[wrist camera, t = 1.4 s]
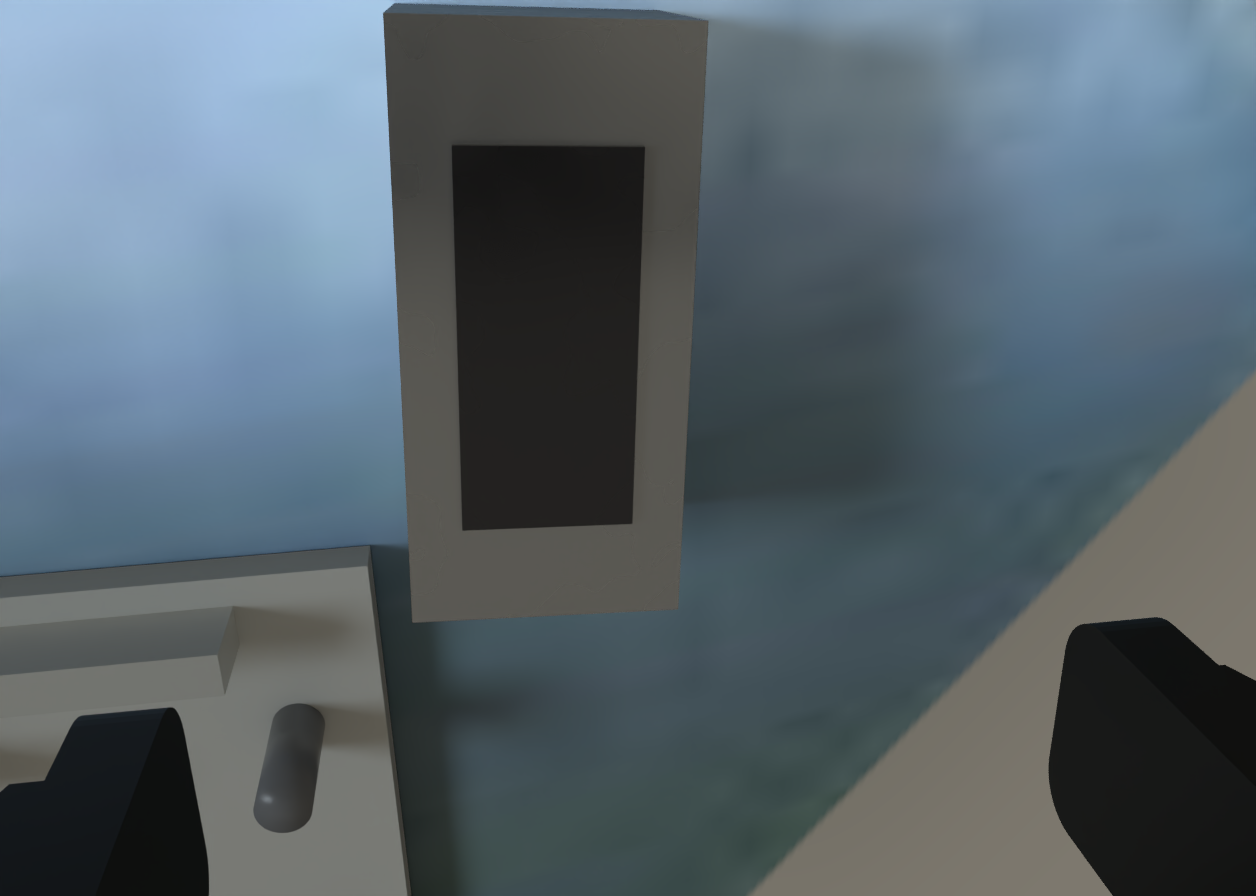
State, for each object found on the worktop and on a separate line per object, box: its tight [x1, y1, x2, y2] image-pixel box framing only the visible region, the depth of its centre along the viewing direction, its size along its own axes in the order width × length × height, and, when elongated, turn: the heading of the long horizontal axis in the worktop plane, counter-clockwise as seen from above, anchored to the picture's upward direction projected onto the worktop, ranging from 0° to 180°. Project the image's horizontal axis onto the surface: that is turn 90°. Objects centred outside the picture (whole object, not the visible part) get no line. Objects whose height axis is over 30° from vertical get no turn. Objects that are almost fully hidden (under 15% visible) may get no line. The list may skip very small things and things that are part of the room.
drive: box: [383, 3, 708, 623], centre depth 23 cm, size 11×5×5 cm, turn 178°
